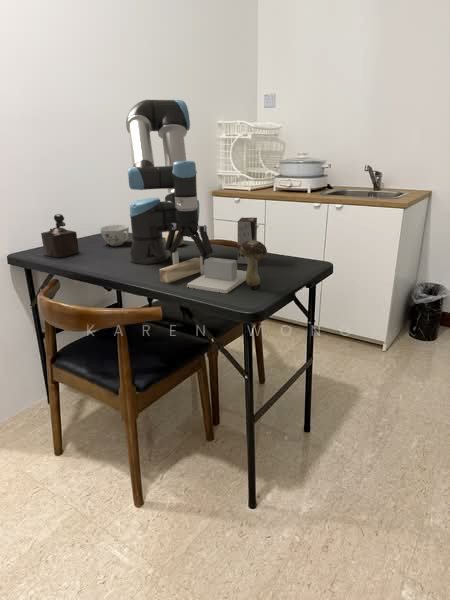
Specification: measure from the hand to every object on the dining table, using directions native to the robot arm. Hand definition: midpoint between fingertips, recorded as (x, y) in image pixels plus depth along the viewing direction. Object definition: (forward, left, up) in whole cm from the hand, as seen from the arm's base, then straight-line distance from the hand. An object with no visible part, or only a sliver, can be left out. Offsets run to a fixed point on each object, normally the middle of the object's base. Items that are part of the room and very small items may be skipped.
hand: (189, 271), depth 149 cm
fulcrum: (+15, -4, 0) cm, 16 cm away
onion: (-27, +32, -1) cm, 42 cm away
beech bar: (0, -4, -1) cm, 4 cm away
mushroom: (+28, -7, 0) cm, 28 cm away
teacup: (-52, +23, -1) cm, 57 cm away
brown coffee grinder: (-61, 0, -1) cm, 61 cm away
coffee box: (+13, +22, -1) cm, 25 cm away
